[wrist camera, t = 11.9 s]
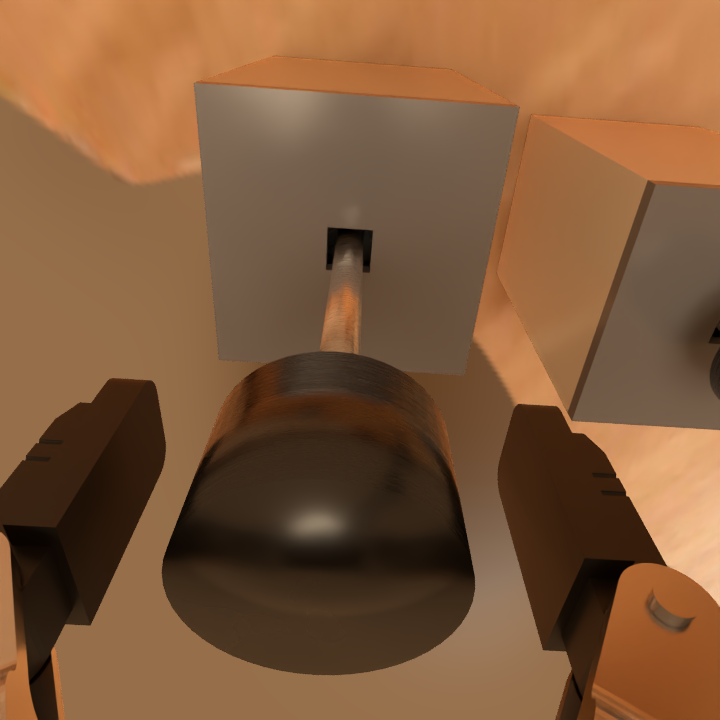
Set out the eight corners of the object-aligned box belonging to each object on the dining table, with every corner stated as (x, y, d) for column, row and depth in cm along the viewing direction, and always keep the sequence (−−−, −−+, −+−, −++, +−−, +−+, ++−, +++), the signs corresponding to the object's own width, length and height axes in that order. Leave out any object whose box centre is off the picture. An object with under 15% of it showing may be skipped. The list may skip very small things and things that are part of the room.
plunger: (456, 113, 22) (713, 378, 6) (429, 291, 26) (531, 737, 10) (260, 98, 22) (-71, 329, 5) (266, 280, 26) (92, 716, 10)
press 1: (451, 69, 30) (519, 106, 16) (427, 240, 35) (464, 375, 22) (273, 55, 30) (194, 82, 16) (276, 230, 35) (219, 360, 22)
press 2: (699, 126, 31) (950, 205, 18) (640, 283, 37) (799, 434, 23) (531, 114, 31) (655, 184, 18) (496, 273, 36) (571, 420, 23)
